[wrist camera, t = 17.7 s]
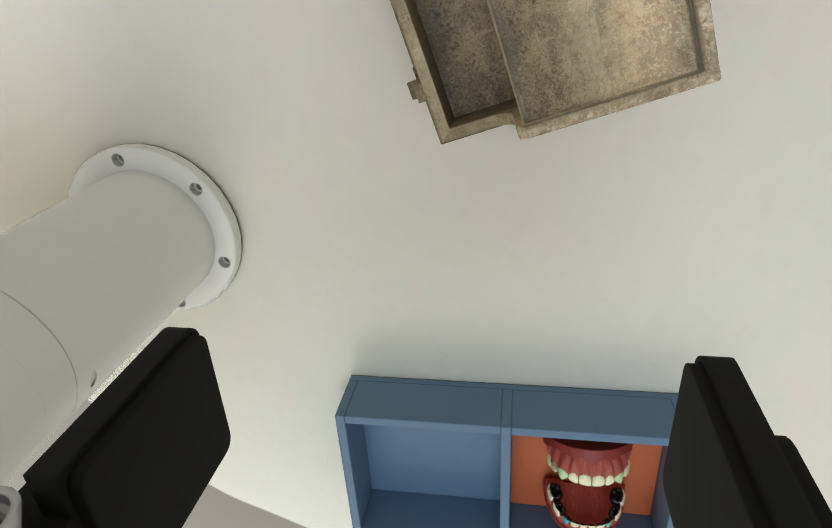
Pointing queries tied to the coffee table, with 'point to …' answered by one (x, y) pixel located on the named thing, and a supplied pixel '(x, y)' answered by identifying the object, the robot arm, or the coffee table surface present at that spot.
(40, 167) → the coffee table surface
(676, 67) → the miniature house
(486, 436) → the storage tray
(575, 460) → the dentures
